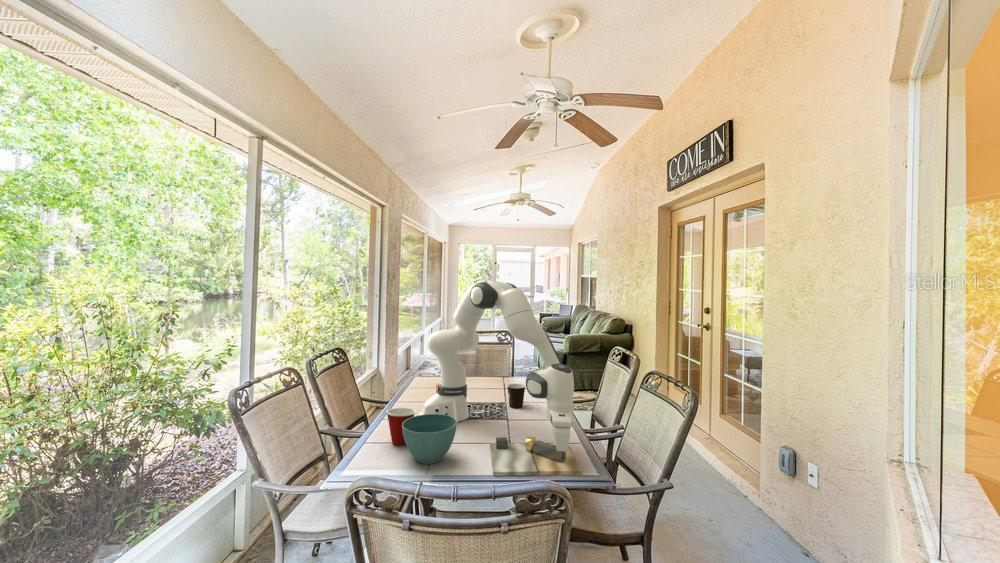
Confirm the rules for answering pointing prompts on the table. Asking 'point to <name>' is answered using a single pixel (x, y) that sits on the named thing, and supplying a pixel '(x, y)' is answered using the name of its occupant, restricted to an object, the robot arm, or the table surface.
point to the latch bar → (544, 449)
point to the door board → (529, 462)
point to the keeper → (501, 443)
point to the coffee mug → (516, 395)
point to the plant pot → (429, 436)
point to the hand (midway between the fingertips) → (559, 453)
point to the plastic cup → (398, 423)
